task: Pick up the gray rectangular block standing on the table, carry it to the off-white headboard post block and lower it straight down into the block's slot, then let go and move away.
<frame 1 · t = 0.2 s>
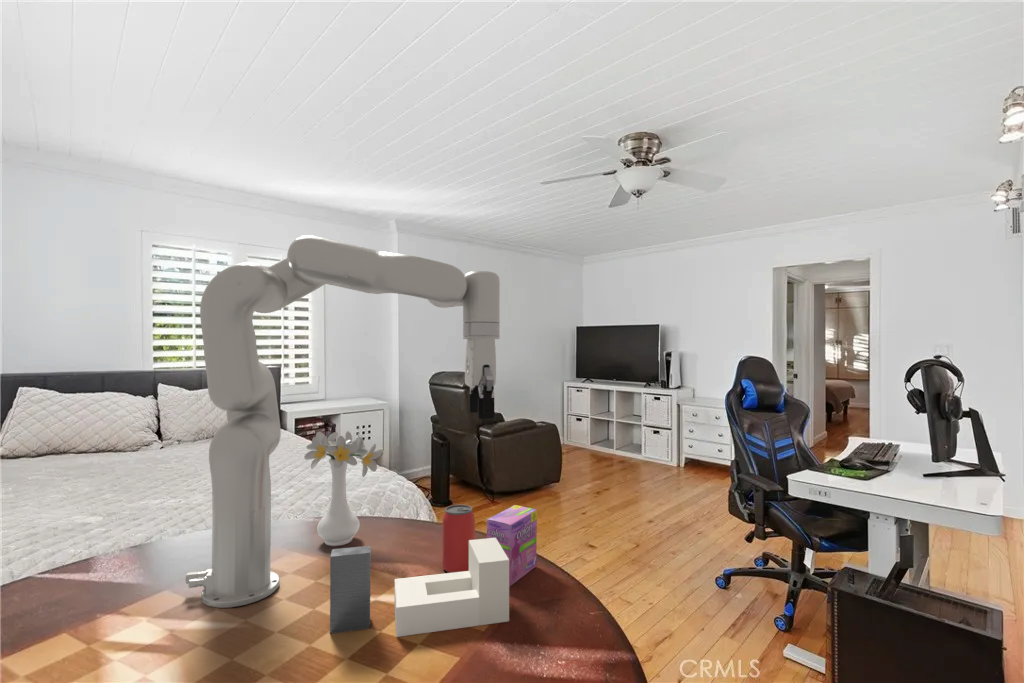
hand: (481, 415, 104), 31 cm above the table, tool pointing down, fingers open, 9 cm apart
beer can: (458, 568, 103), on the table
box: (512, 574, 100), on the table
flower vase: (342, 541, 117), on the table
gray rectangular block: (350, 626, 81), on the table
post block: (450, 612, 85), on the table
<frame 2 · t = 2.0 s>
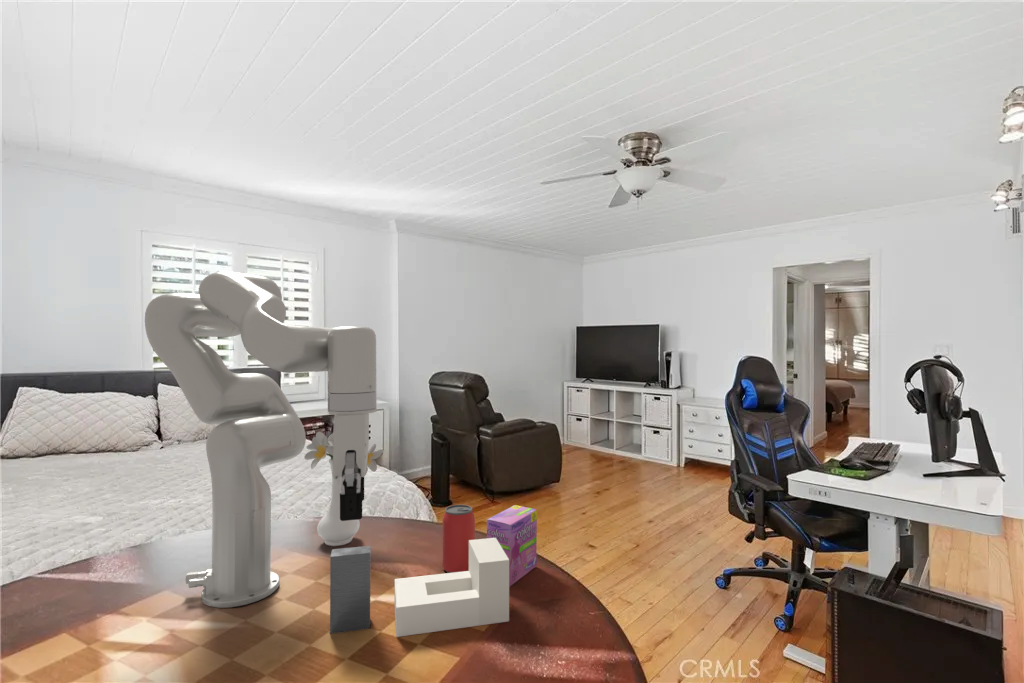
hand: (352, 509, 81), 19 cm above the table, tool pointing down, fingers open, 9 cm apart
nothing on the table moved.
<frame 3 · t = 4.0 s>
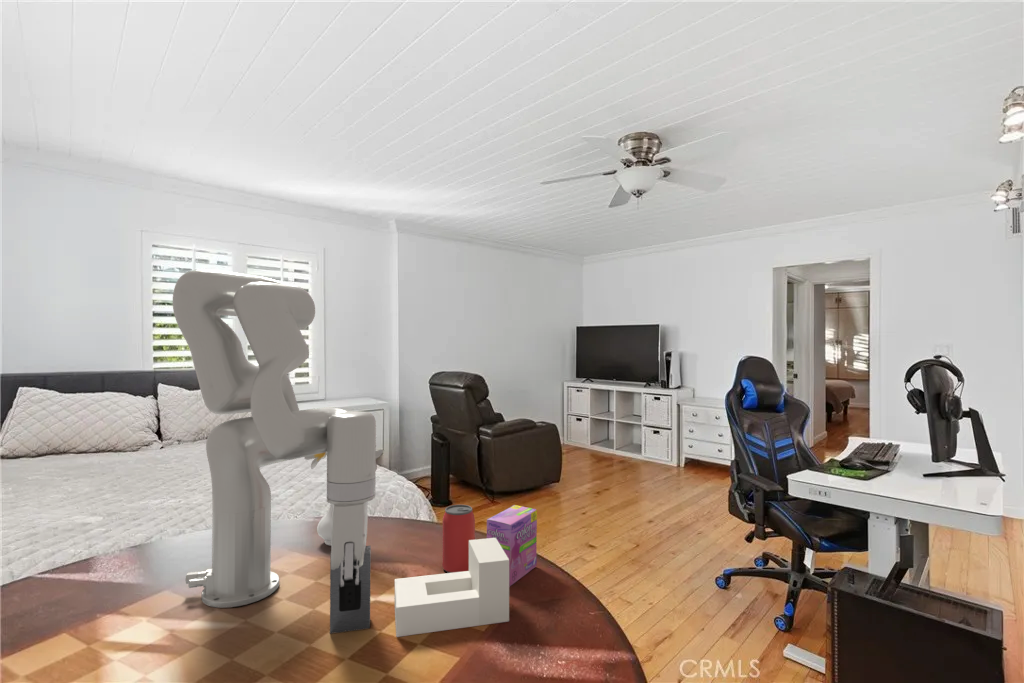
hand: (350, 602, 81), 4 cm above the table, tool pointing down, fingers closed on gray rectangular block, 3 cm apart
gray rectangular block: (350, 625, 81), on the table, touching gripper
everything else where it was.
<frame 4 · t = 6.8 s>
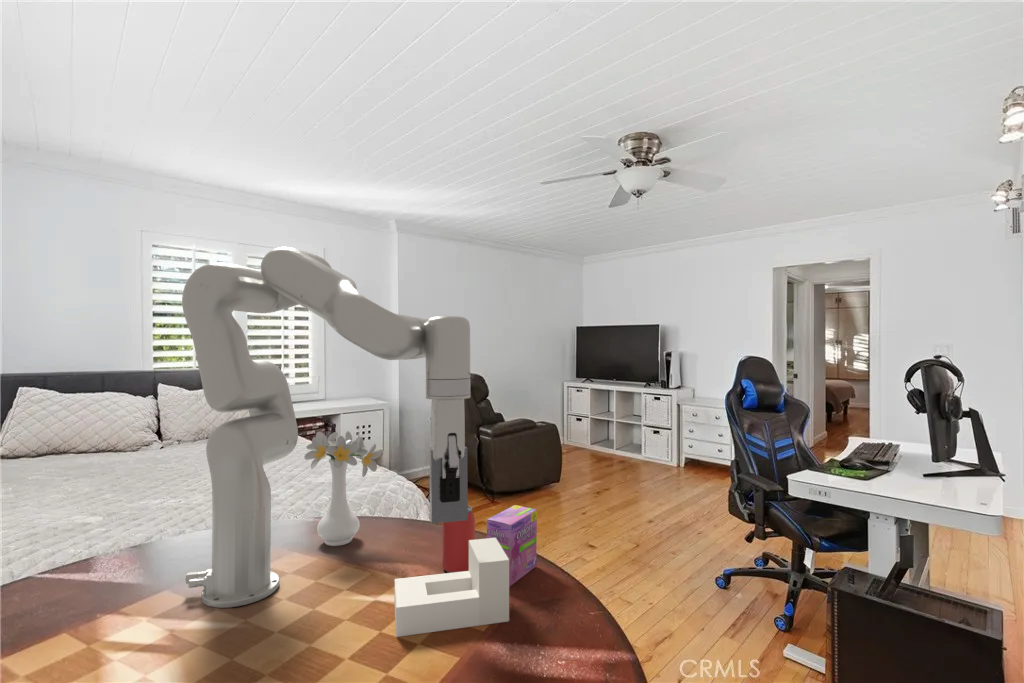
hand: (448, 497, 85), 19 cm above the table, tool pointing down, fingers closed on gray rectangular block, 3 cm apart
gray rectangular block: (448, 519, 85), point 16 cm above the table, touching gripper
everything else where it was.
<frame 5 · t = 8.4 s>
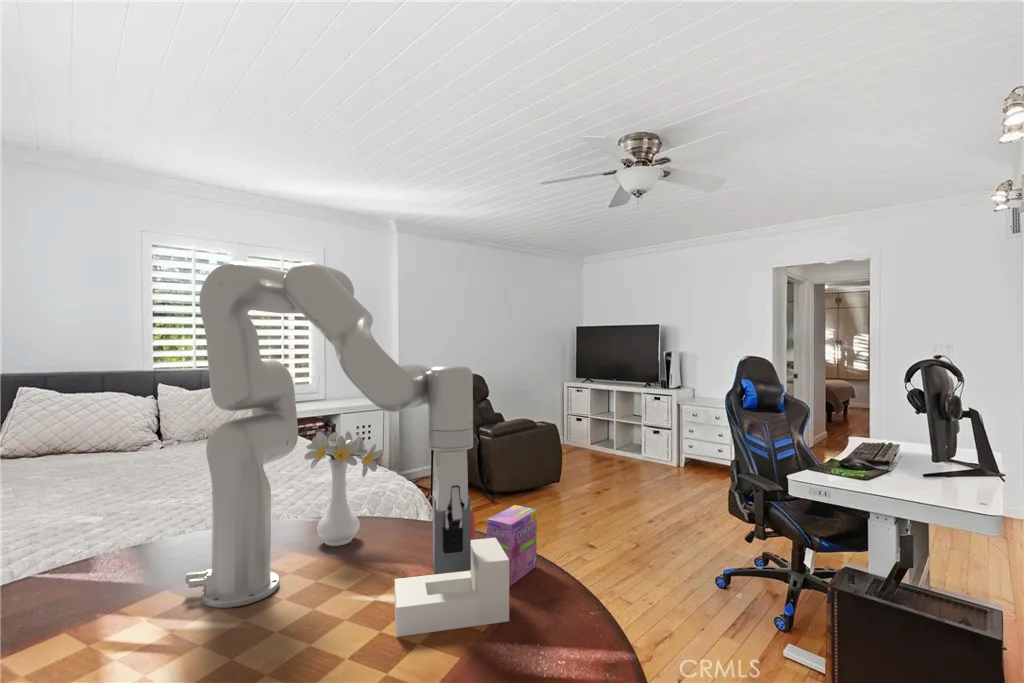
hand: (451, 546, 85), 11 cm above the table, tool pointing down, fingers closed on gray rectangular block, 3 cm apart
gray rectangular block: (451, 568, 85), point 7 cm above the table, touching gripper
everything else where it was.
when the fingers open (6 cm above the table, at t = 9.7 s): gray rectangular block drops 2 cm, resting in post block.
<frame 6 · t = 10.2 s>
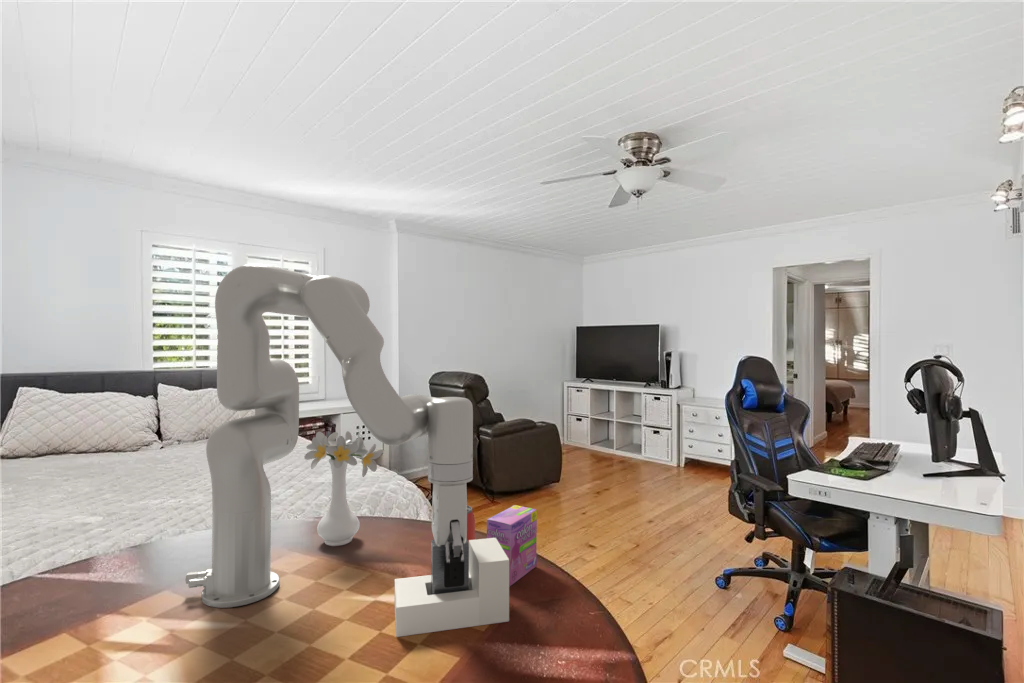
hand: (450, 572, 85), 7 cm above the table, tool pointing down, fingers open, 9 cm apart
gray rectangular block: (449, 613, 85), resting in post block
everything else where it was.
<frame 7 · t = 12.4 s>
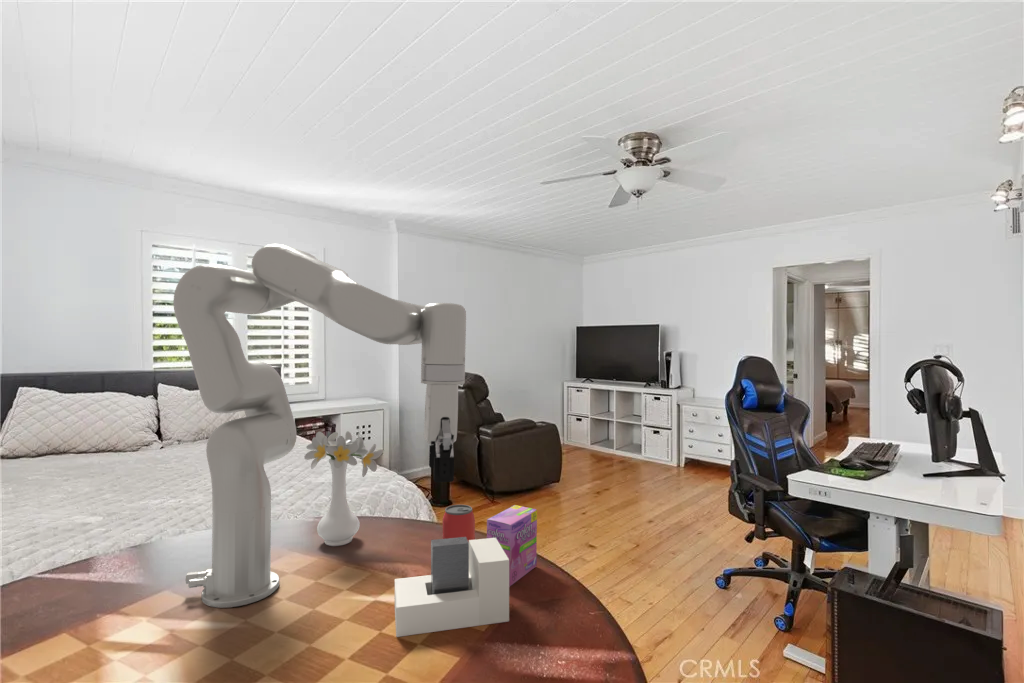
hand: (440, 474, 87), 23 cm above the table, tool pointing down, fingers open, 9 cm apart
nothing on the table moved.
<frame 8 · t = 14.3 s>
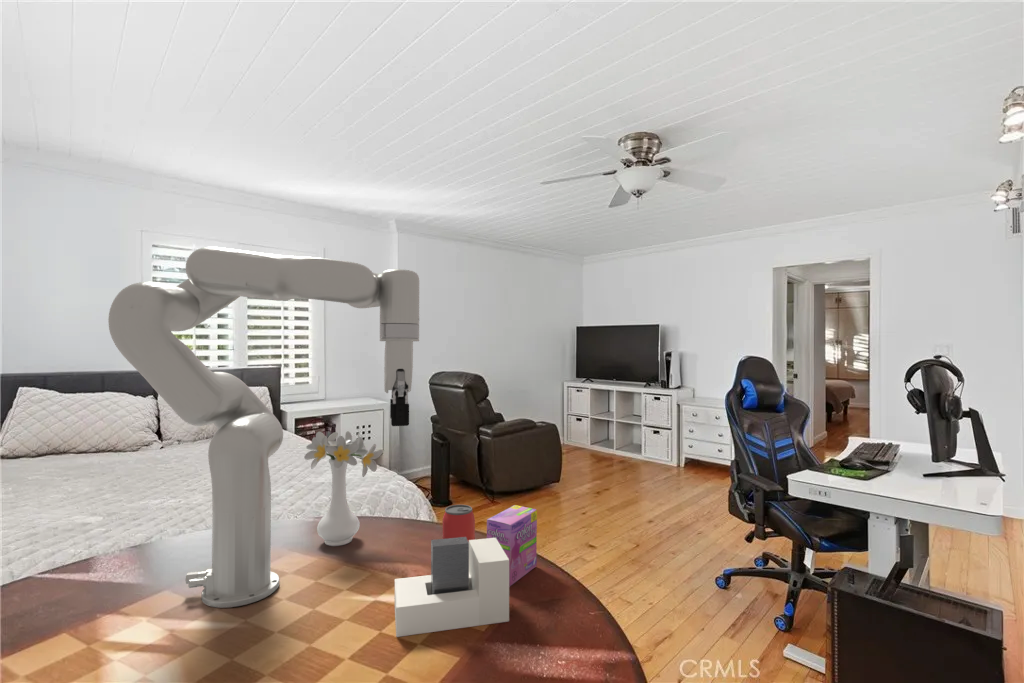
hand: (399, 421, 98), 30 cm above the table, tool pointing down, fingers open, 9 cm apart
nothing on the table moved.
at the end: gray rectangular block 0.1 cm off-centre on the post block, point 0.0 cm above the post block's base; gray rectangular block tilted 0°; the gripper is holding nothing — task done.
